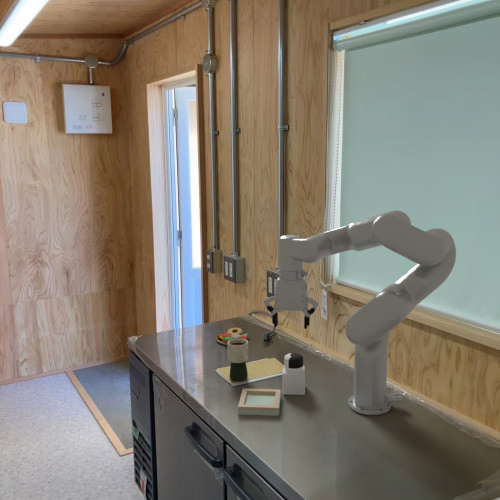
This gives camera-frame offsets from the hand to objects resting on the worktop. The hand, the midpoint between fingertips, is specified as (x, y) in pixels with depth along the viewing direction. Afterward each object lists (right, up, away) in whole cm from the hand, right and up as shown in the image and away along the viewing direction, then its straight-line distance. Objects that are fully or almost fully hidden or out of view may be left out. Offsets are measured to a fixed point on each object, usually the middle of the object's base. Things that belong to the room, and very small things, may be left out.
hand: (290, 326), depth 168 cm
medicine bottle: (+1, -21, +2) cm, 21 cm away
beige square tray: (-10, -23, -7) cm, 26 cm away
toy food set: (-20, -13, +48) cm, 54 cm away
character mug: (-17, -20, +12) cm, 29 cm away
